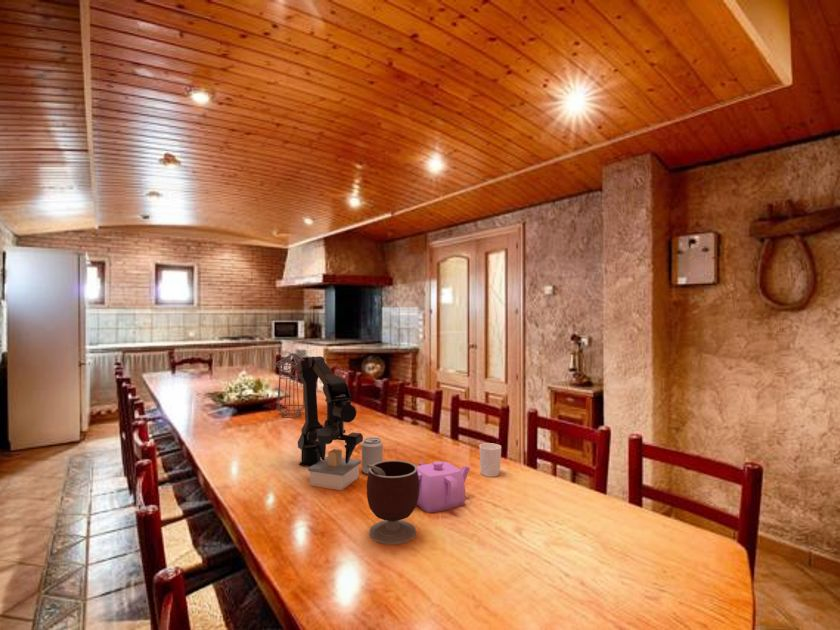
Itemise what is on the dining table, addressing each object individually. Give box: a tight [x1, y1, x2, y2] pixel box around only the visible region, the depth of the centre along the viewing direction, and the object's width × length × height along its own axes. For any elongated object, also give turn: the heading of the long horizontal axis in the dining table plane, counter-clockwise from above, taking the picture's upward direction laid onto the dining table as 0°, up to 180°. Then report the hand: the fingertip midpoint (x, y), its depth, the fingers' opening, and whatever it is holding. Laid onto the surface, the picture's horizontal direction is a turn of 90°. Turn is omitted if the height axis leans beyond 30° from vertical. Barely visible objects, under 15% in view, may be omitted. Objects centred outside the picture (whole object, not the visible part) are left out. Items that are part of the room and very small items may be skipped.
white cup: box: [478, 442, 502, 478], centre depth 163 cm, size 8×8×10 cm
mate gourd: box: [366, 459, 419, 546], centre depth 118 cm, size 16×14×20 cm
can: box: [361, 436, 384, 475], centre depth 164 cm, size 8×8×12 cm
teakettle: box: [416, 460, 471, 513], centre depth 138 cm, size 17×17×12 cm
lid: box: [307, 448, 362, 476], centre depth 154 cm, size 13×13×6 cm
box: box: [309, 464, 360, 491], centre depth 154 cm, size 12×12×5 cm
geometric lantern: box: [274, 353, 305, 419], centre depth 250 cm, size 16×16×35 cm
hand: (334, 461), depth 154 cm, fingers open, 9 cm apart
